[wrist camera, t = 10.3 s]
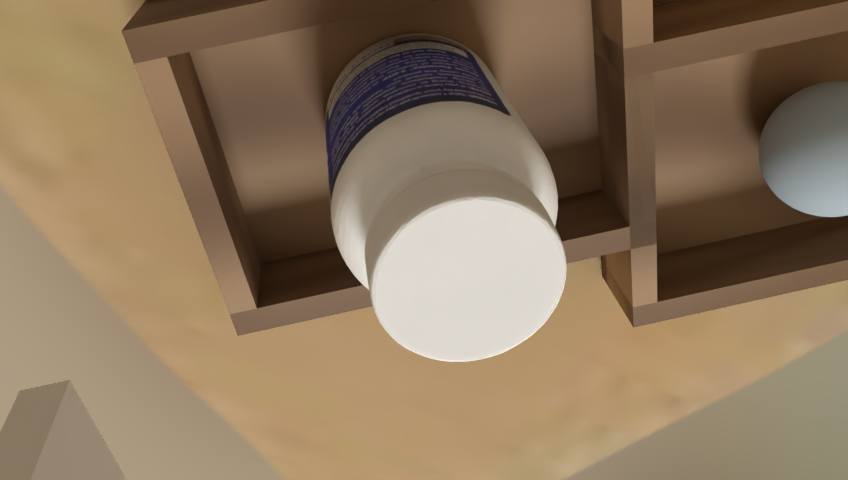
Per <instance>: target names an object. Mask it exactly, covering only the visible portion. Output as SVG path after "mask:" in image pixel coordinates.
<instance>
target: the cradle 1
mask: <svg viewBox="0 0 848 480" xmlns="http://www.w3.org/2000/svg"><path fill="white" fill-rule="evenodd" d="M592 24H593V25H594V26H595V27H596V28H598V29H599V30H600V31H601V32H603V33H604V34H605V35H606V36H608V38H609V39H610V41H611V40H612V41H611V42H610V41H609V42H608V43H610V44H606V45H607V46H608V47H607V48H610V47H612V45H613V47H612V48H610V49H609V50H611V49H612V50H613V51H612V50H611V51H610V52H609V53H611V55H610V56H609V53H608V52H607V53H608V56H609V57H611V58H608V60H607V61H608V62H610V64H608V62H605V61H604V60H603V59H602V58H601V57H600V56H599V55H597V54H596V53H595V52H594V44H593V27H592ZM122 33H123V36H124V39H125V41H126V44H127V46H128V49H129V52H130V54H131V57H132V59H133V62H134V65H135V67H136V70H137V73H138V75H139V78H140V80H141V83H142V86H143V88H144V91H145V94H146V96H147V99H148V101H149V104H150V107H151V109H152V112H153V115H154V117H155V120H156V122H157V125H158V128H159V130H160V133H161V135H162V138H163V141H164V143H165V146H166V149H167V151H168V154H169V156H170V159H171V162H172V164H173V167H174V170H175V172H176V175H177V177H178V180H179V183H180V185H181V188H182V191H183V193H184V196H185V198H186V201H187V204H188V206H189V209H190V211H191V214H192V217H193V219H194V222H195V225H196V227H197V230H198V232H199V235H200V238H201V240H202V243H203V246H204V248H205V251H206V253H207V256H208V259H209V261H210V264H211V267H212V269H213V272H214V274H215V277H216V280H217V282H218V285H219V287H220V290H221V293H222V295H223V298H224V301H225V303H226V306H227V308H228V311H229V314H230V316H231V319H232V322H233V324H234V327H235V329H236V332H237V335H238V336H239V335H244V334H248V333H253V332H257V331H262V330H266V329H271V328H275V327H280V326H284V325H289V324H294V323H298V322H303V321H307V320H312V319H316V318H321V317H325V316H330V315H334V314H339V313H343V312H348V311H353V310H357V309H362V308H366V307H371V306H373V305H372V302H371V297H370V291H369V290H368V289H367V288H366V287H365V286H364V285H362V284H361V282H360V281H359V280H358V279H357V278H356V277H355V276H354V275H353V273H352V272H351V270H350V269H349V267H348V266H347V265H346V263H345V261H344V259H343V257H342V255H341V253H340V251H339V249H338V246H337V243H336V240H335V236H334V232H333V228H332V221H331V211H330V195H329V183H328V165H327V149H326V134H325V116H326V108H327V103H328V99H329V96H330V93H331V90H332V88H333V86H334V84H335V82H336V80H337V78H338V77H339V75H340V74H341V72H342V71H343V70H344V68H345V67H346V66H347V65H348V64H349V63H350V61H351V60H352V59H353V58H355V57H356V56H357V55H358V54H359V53H361V52H362V51H364V50H365V49H366V48H368V47H370V46H371V45H373V44H375V43H377V42H379V41H381V40H384V39H386V38H389V37H393V36H397V35H402V34H409V33H428V34H434V35H439V36H443V37H446V38H449V39H452V40H454V41H456V42H458V43H460V44H462V45H464V46H465V47H467V48H468V49H470V50H471V51H473V52H474V53H475V54H476V55H477V56H478V57H479V58H480V59H481V60H482V61H483V62H484V63H485V65H486V66H487V67H488V69H489V70H490V72H491V73H492V75H493V76H494V78H495V79H496V81H497V83H498V84H499V85H500V87H501V89H502V90H503V92H504V94H505V96H506V97H507V99H508V100H509V102H510V103H511V105H512V106H513V108H514V109H515V111H516V112H517V114H518V115H519V117H520V118H521V120H522V121H523V122H524V124H525V125H526V127H527V128H528V130H529V131H530V133H531V134H532V135H533V137H534V138H535V140H536V141H537V143H538V144H539V146H540V147H541V149H542V150H543V152H544V154H545V156H546V158H547V160H548V162H549V164H550V167H551V170H552V172H553V175H554V178H555V182H556V187H557V194H558V211H557V220H556V225H555V228H556V230H557V232H558V234H559V236H560V238H561V241H562V243H563V246H564V250H565V256H566V263H571V262H575V261H580V260H584V259H589V258H593V257H598V256H603V255H607V254H612V253H616V252H621V251H625V250H630V249H634V248H638V247H635V246H637V245H634V244H635V243H633V245H634V246H633V245H632V244H630V243H631V242H632V240H633V238H634V235H633V234H634V233H633V234H632V235H633V238H632V237H631V236H632V235H631V236H630V234H631V232H630V229H631V228H630V217H632V216H630V217H629V208H631V207H629V194H632V193H629V189H628V176H629V175H628V162H627V139H629V138H627V135H626V130H627V129H626V121H627V120H626V108H625V98H626V97H625V85H626V84H625V81H624V65H625V64H624V54H623V49H626V48H631V47H636V46H640V45H645V44H650V43H653V0H150V1H145V2H144V4H143V5H142V6H141V7H140V9H139V10H138V11H137V12H136V14H135V15H134V16H133V17H132V19H131V20H130V21H129V22H128V24H127V25H126V26H125V27H124V29H123V30H122ZM603 36H604V35H603ZM606 39H607V37H606ZM609 39H608V40H609ZM611 43H614V44H611ZM603 44H605V43H603ZM615 44H616V45H615ZM609 45H610V46H609ZM607 50H608V49H607ZM605 51H606V49H605ZM605 54H606V53H605ZM615 54H616V55H615ZM636 54H637V53H636ZM612 55H613V56H612ZM606 56H607V55H606ZM614 56H615V57H614ZM604 57H605V56H604ZM631 57H632V56H631ZM610 59H611V60H610ZM609 60H610V61H609ZM613 61H614V62H613ZM611 62H612V63H611ZM611 64H612V65H611ZM637 68H638V67H637ZM651 69H652V68H651ZM650 75H653V74H650ZM646 76H647V75H646ZM639 77H641V76H639ZM634 78H636V77H634ZM628 79H630V80H631V78H628ZM648 80H650V79H648ZM628 81H629V80H628ZM631 81H632V80H631ZM636 81H637V80H636ZM643 81H644V80H643ZM626 82H627V81H626ZM634 82H635V81H634ZM637 82H639V81H637ZM632 83H633V82H632ZM629 84H630V82H629ZM652 84H653V83H652ZM627 85H628V83H627ZM630 85H631V84H630ZM646 85H648V84H646ZM628 86H629V85H628ZM633 86H634V85H633ZM636 86H637V85H636ZM636 86H634V87H636ZM640 86H641V85H640ZM642 86H643V85H642ZM630 88H631V87H629V89H630ZM637 88H638V87H637ZM626 89H627V87H626ZM650 89H652V88H650ZM627 90H628V89H627ZM644 90H645V89H644ZM630 91H631V90H630ZM638 91H640V90H638ZM632 92H634V90H633V91H632ZM636 92H637V91H636ZM627 93H629V92H627ZM634 93H635V92H634ZM653 93H654V92H653ZM631 94H632V93H631ZM637 94H638V93H637ZM648 94H650V93H648ZM629 95H630V94H629ZM643 95H644V94H643ZM627 96H628V94H627ZM632 96H633V95H632ZM632 96H630V97H632ZM628 97H629V96H628ZM638 97H639V96H638ZM651 98H652V97H651ZM628 99H629V98H628ZM634 99H635V98H634ZM637 99H638V98H637ZM645 99H646V98H645ZM631 100H632V99H631ZM640 100H642V99H640ZM632 101H633V100H632ZM634 101H635V102H636V100H634ZM629 102H630V103H631V101H629ZM633 103H634V102H633ZM638 103H639V101H638ZM649 103H651V102H649ZM628 104H629V103H628ZM644 104H645V103H644ZM637 105H640V103H639V104H637ZM631 106H632V107H633V106H634V105H632V104H631ZM626 107H628V106H626ZM635 107H636V106H635ZM637 107H638V106H637ZM652 107H653V106H652ZM638 108H639V107H638ZM646 108H648V107H646ZM633 109H634V108H633ZM639 109H640V108H639ZM641 109H643V108H641ZM631 111H632V109H631ZM634 111H635V110H634ZM636 111H637V108H636ZM629 112H630V110H629ZM637 112H638V111H637ZM640 112H641V111H640ZM651 112H652V111H651ZM635 113H636V112H635ZM644 113H646V112H644ZM632 114H633V113H632ZM638 114H639V112H638ZM640 114H641V113H640ZM630 115H631V113H630ZM633 115H635V114H633ZM627 116H629V115H627ZM631 116H632V115H631ZM636 116H637V115H636ZM639 116H640V115H639ZM653 116H654V115H653ZM634 117H635V116H634ZM648 117H650V116H648ZM640 118H641V117H640ZM642 118H644V117H642ZM637 119H639V118H637ZM630 120H632V119H630ZM635 120H636V119H635ZM633 121H634V120H633ZM636 121H637V120H636ZM638 121H639V120H638ZM641 121H642V120H641ZM652 121H653V120H652ZM639 122H640V121H639ZM646 122H648V121H646ZM631 123H632V122H631ZM640 123H641V122H640ZM634 124H635V121H634ZM629 125H630V124H629ZM635 125H636V124H635ZM633 126H634V125H633ZM638 126H639V125H638ZM649 126H651V125H649ZM643 127H646V126H643ZM637 128H640V127H637ZM633 129H634V130H635V128H633ZM642 129H643V128H642ZM640 130H641V128H640ZM652 130H655V129H652ZM632 131H633V130H632ZM635 131H636V130H635ZM647 131H648V130H647ZM643 132H644V131H643ZM633 133H634V132H633ZM636 133H638V132H636ZM641 133H642V131H641ZM630 134H632V133H630ZM639 134H640V133H639ZM650 135H652V134H650ZM637 136H638V135H637ZM646 136H647V135H646ZM635 137H636V136H635ZM635 137H633V139H634V138H635ZM639 137H641V136H639ZM636 138H637V137H636ZM641 138H642V137H641ZM654 139H655V138H654ZM634 140H635V139H634ZM636 140H637V139H636ZM642 140H643V139H642ZM648 140H649V139H648ZM639 141H640V138H639ZM639 141H638V140H637V142H638V143H639ZM640 142H641V141H640ZM631 143H633V142H631ZM635 144H636V143H635ZM652 144H654V143H652ZM644 145H645V143H644ZM647 145H648V144H647ZM639 146H642V145H639ZM634 147H635V145H634ZM636 147H638V146H637V144H636ZM642 147H643V146H642ZM629 148H630V147H629ZM640 148H641V147H640ZM645 148H646V146H645ZM638 149H639V148H638ZM641 149H642V148H641ZM643 149H644V147H643ZM649 149H652V148H649ZM645 150H646V149H644V152H645ZM638 151H639V152H640V150H638ZM638 151H637V152H638ZM632 152H634V151H632ZM640 153H641V152H640ZM642 153H643V152H642ZM654 153H655V152H654ZM648 154H649V153H648ZM646 155H647V153H646ZM636 156H639V155H636ZM641 156H642V154H641ZM630 157H632V156H630ZM639 157H640V156H639ZM642 158H643V157H642ZM651 158H652V157H651ZM645 159H646V157H645ZM637 160H638V158H637ZM639 160H642V159H641V158H640V159H639ZM643 160H644V158H643ZM633 161H636V160H633ZM629 162H630V161H629ZM641 162H642V161H641ZM644 162H645V161H644ZM646 162H647V160H646ZM639 163H640V162H639ZM648 163H651V162H648ZM648 163H647V164H648ZM642 164H643V163H642ZM644 164H645V163H644ZM644 164H643V166H644ZM637 165H639V164H637ZM631 166H633V165H631ZM646 167H647V166H646ZM652 167H654V166H652ZM640 169H642V171H643V168H642V167H641V168H640V167H639V170H640ZM647 169H648V168H647ZM636 170H637V169H636ZM645 170H646V169H645ZM629 171H631V170H629ZM638 172H639V171H638ZM640 172H641V171H640ZM643 172H644V171H643ZM648 172H649V169H648ZM650 172H651V171H650ZM641 173H642V172H641ZM645 173H646V172H645ZM638 174H639V175H640V173H638ZM647 174H648V173H647ZM649 174H650V173H649ZM633 175H634V174H633ZM645 175H646V174H645ZM653 176H655V175H653ZM640 177H641V176H640ZM645 177H646V176H645ZM648 178H649V176H648ZM637 179H638V178H637ZM644 179H645V178H644ZM646 179H647V178H646ZM649 179H650V178H649ZM630 180H633V179H630ZM650 181H652V180H650ZM642 182H643V181H642ZM642 182H641V183H642ZM646 182H648V181H645V183H646ZM639 183H640V182H639ZM643 183H644V182H643ZM648 183H649V182H648ZM634 184H636V183H634ZM629 185H630V184H629ZM654 185H656V184H654ZM641 186H642V185H641ZM649 186H650V184H649ZM644 187H645V184H644ZM647 187H648V186H647ZM638 188H639V187H638ZM645 188H646V187H645ZM632 189H633V188H632ZM643 189H644V188H643ZM648 189H649V188H648ZM649 190H650V189H649ZM651 190H653V189H652V188H651ZM643 191H644V190H643ZM643 191H642V190H641V192H642V193H643ZM646 191H647V189H646ZM644 192H645V191H644ZM649 192H650V191H649ZM635 193H637V192H635ZM650 195H652V194H651V192H650ZM643 196H644V197H645V196H647V194H646V195H643ZM652 196H653V195H652ZM640 197H641V196H640ZM633 198H634V197H633ZM642 198H643V197H642ZM647 198H648V197H647ZM649 198H650V196H649ZM652 198H653V197H652ZM650 199H651V198H650ZM650 199H648V200H650ZM654 199H656V198H654ZM645 200H646V198H645ZM645 200H643V199H642V201H643V202H644V201H645ZM651 201H652V200H651ZM636 202H639V201H636ZM646 202H647V201H646ZM648 202H649V201H648ZM632 203H633V202H632ZM644 203H645V202H644ZM649 203H650V202H649ZM651 204H654V203H650V205H651ZM647 205H648V203H647ZM640 206H642V205H640ZM645 206H646V204H645ZM634 207H636V206H634ZM643 207H644V206H643ZM648 207H649V206H648ZM646 208H647V207H646ZM651 208H652V207H651ZM651 208H650V207H649V209H650V211H651ZM655 208H656V207H655ZM647 209H648V208H647ZM643 210H645V208H644V209H643ZM652 210H653V209H652ZM638 211H640V210H638ZM653 211H654V210H653ZM633 212H634V211H633ZM645 212H646V211H645ZM648 214H649V213H648ZM648 214H647V215H648ZM651 214H652V211H651ZM641 215H642V214H641ZM635 216H637V215H635ZM645 217H646V216H645ZM647 217H648V216H647ZM650 218H651V219H652V218H654V215H653V217H651V216H650ZM646 219H647V218H646ZM640 220H641V219H640ZM652 220H653V219H652ZM654 220H655V218H654ZM654 220H653V221H654ZM633 221H635V220H633ZM653 221H652V222H653ZM647 222H648V221H647ZM652 222H651V225H652ZM648 223H650V222H648ZM648 223H646V224H645V223H644V224H643V223H642V224H643V226H644V227H645V225H646V227H647V226H649V225H650V224H649V225H648ZM653 223H654V222H653ZM642 224H641V225H642ZM637 225H638V224H637ZM637 225H635V226H637ZM641 225H640V229H641V227H642V226H641ZM651 225H650V226H651ZM653 225H654V224H653ZM655 225H656V224H655ZM632 226H633V225H631V227H632ZM638 226H639V225H638ZM638 226H637V227H638ZM651 227H652V228H654V227H653V226H651ZM651 227H649V228H651ZM632 228H633V227H632ZM635 228H636V227H635ZM638 228H639V227H638ZM647 228H648V227H647ZM647 228H646V229H647ZM649 228H648V229H649ZM640 229H638V230H640ZM643 229H644V228H643ZM643 229H642V231H643ZM646 229H644V230H645V232H646ZM654 229H655V228H654ZM634 230H635V229H634ZM636 230H637V229H636ZM649 230H650V229H649ZM640 231H641V230H640ZM654 231H655V230H654ZM632 232H633V231H632ZM635 232H636V231H635ZM637 232H638V231H637ZM637 232H636V233H637ZM643 232H644V231H643ZM645 232H644V233H643V234H645ZM647 232H648V231H647ZM647 232H646V233H647ZM651 232H652V231H651ZM651 232H650V231H649V233H651ZM655 232H656V231H655ZM637 234H638V235H639V233H637ZM643 234H642V232H641V233H640V235H643ZM652 234H653V232H652V233H651V234H650V235H652ZM655 234H656V233H655ZM640 235H639V236H640ZM646 235H647V234H646ZM646 235H645V236H646ZM648 235H649V234H648ZM648 235H647V236H648ZM635 236H636V235H635ZM654 236H655V235H654ZM630 237H631V238H632V239H630ZM636 237H638V236H636ZM636 237H635V238H636ZM642 237H643V236H642ZM655 237H656V236H655ZM655 237H654V238H655ZM639 238H640V237H639ZM645 238H646V237H645ZM648 238H650V237H649V236H648ZM652 238H653V236H652ZM637 239H638V238H637ZM641 239H642V238H641ZM641 239H640V240H641ZM646 239H647V238H646ZM630 240H631V242H630ZM635 240H636V239H635ZM638 240H639V239H638ZM642 240H643V239H642ZM642 240H641V241H642ZM648 240H649V239H648ZM654 240H655V239H654ZM654 240H653V241H654ZM655 241H656V240H655ZM636 242H637V241H636ZM644 242H645V239H644ZM649 242H650V240H649ZM651 242H652V240H651ZM651 242H650V245H652V244H651ZM645 243H646V242H645ZM647 243H648V242H647ZM653 243H654V242H653ZM655 243H656V242H655ZM655 243H654V244H655ZM638 244H639V243H638ZM641 244H644V243H641ZM641 244H639V245H641ZM648 244H649V243H648ZM656 244H657V243H656ZM632 246H633V247H632ZM644 246H647V244H646V245H644ZM631 247H632V248H631ZM641 247H643V245H642V246H641Z"/></svg>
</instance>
